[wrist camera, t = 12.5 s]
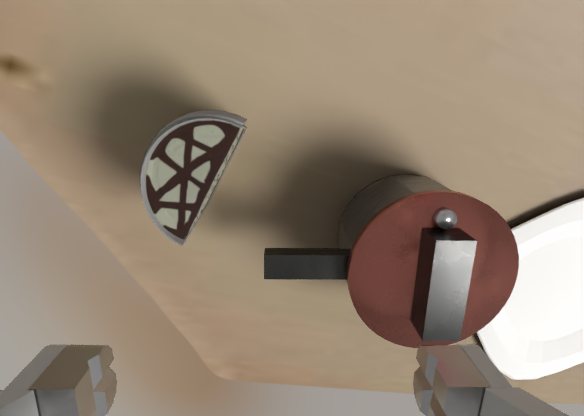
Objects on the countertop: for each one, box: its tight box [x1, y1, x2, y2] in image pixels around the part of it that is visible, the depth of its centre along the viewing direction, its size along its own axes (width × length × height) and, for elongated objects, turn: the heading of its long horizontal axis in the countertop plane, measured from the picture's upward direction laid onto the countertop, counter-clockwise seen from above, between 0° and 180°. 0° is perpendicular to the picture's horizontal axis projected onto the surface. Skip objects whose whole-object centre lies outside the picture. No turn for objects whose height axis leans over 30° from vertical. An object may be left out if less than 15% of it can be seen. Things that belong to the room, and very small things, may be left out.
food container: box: [140, 110, 247, 246], centre depth 34 cm, size 12×6×10 cm, turn 151°
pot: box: [264, 174, 452, 279], centre depth 38 cm, size 14×22×9 cm, turn 89°
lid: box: [347, 190, 519, 348], centre depth 32 cm, size 15×15×4 cm
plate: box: [476, 197, 584, 379], centre depth 45 cm, size 22×22×2 cm
